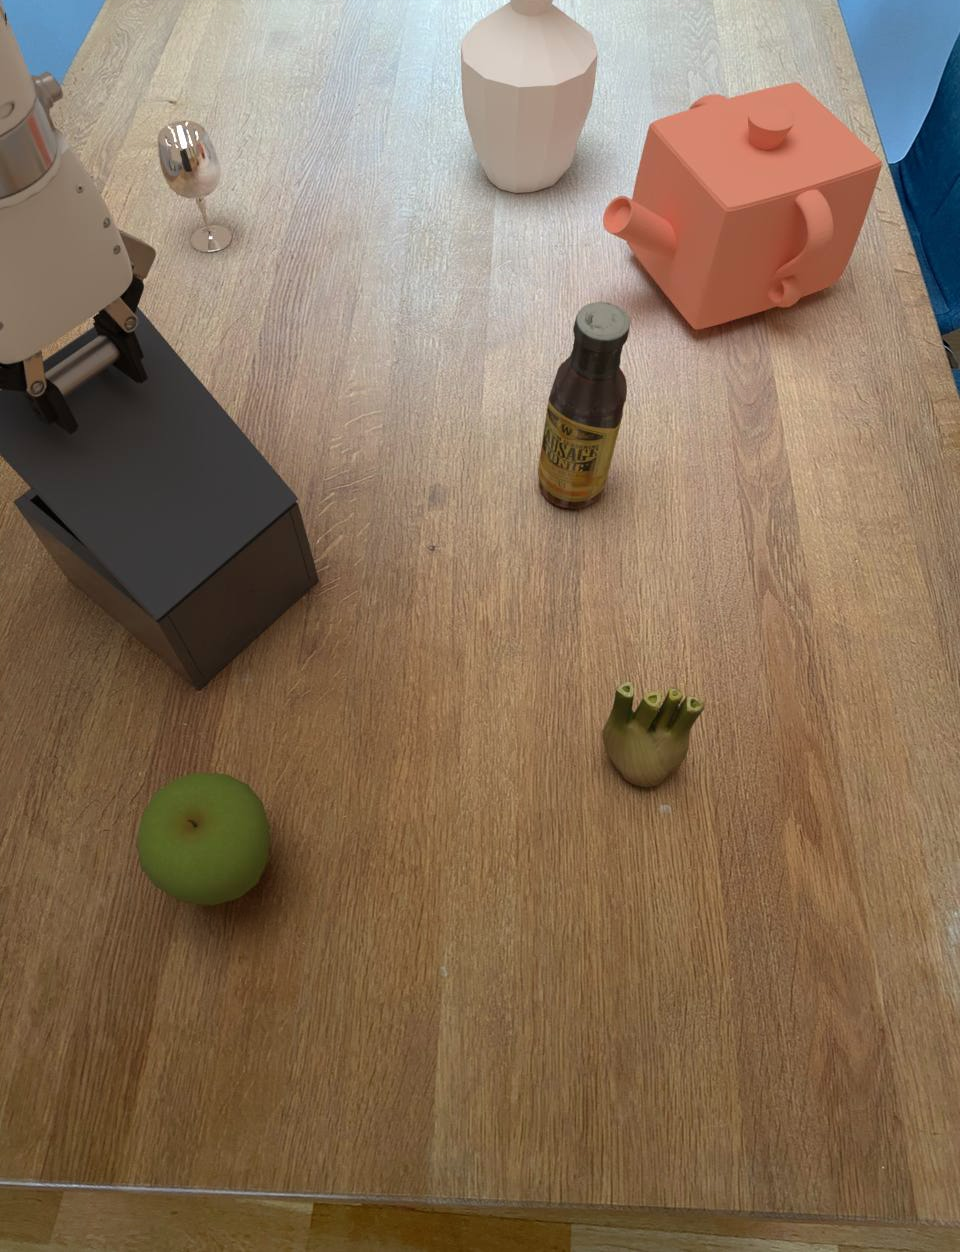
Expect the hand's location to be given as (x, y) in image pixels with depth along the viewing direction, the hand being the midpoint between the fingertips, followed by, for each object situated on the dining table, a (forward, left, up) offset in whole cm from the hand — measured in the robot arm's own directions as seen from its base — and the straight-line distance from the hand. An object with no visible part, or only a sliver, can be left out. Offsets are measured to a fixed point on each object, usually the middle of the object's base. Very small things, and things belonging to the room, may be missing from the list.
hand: (95, 394), depth 63 cm
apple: (+22, -15, -22) cm, 35 cm away
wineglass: (-31, +31, -22) cm, 49 cm away
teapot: (+14, +59, -22) cm, 65 cm away
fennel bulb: (+40, +11, -22) cm, 47 cm away
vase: (-12, +62, -22) cm, 67 cm away
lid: (+2, 0, -5) cm, 6 cm away
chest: (+1, 0, -22) cm, 22 cm away
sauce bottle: (+20, +29, -22) cm, 42 cm away
